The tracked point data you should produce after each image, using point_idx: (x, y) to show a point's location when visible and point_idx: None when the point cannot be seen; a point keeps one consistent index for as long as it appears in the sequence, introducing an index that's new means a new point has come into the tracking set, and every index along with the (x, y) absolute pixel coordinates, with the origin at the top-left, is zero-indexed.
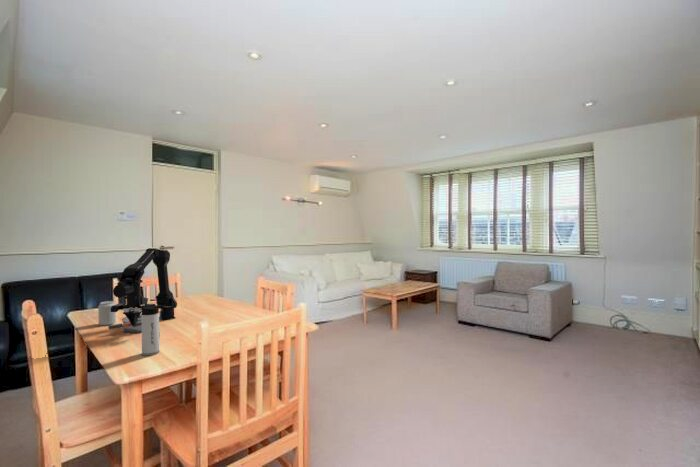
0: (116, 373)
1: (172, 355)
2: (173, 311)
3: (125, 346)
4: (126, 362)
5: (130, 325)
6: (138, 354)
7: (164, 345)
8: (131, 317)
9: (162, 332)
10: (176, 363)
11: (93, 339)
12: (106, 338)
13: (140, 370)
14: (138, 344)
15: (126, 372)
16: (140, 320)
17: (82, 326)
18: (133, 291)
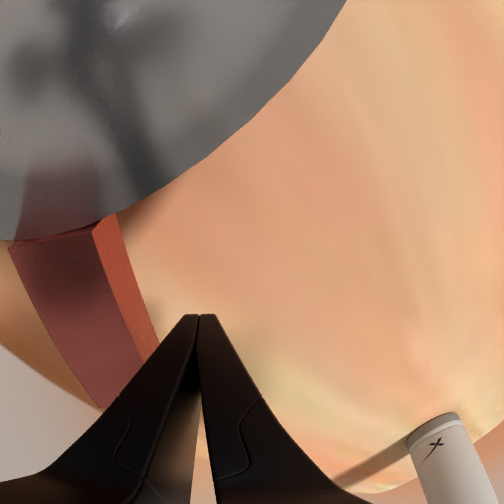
0: (368, 490)
1: (485, 414)
2: None
3: (295, 418)
4: (372, 472)
5: (155, 342)
6: (393, 444)
7: (477, 370)
8: (183, 486)
9: (451, 123)
10: (483, 433)
11: None
12: (22, 302)
13: (415, 472)
14: (358, 391)
15: (388, 484)
16: (192, 156)
17: None
18: None
